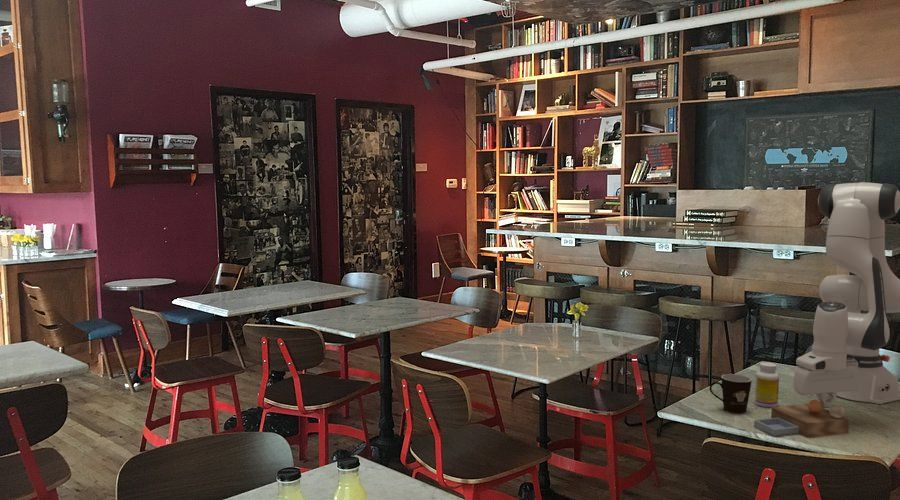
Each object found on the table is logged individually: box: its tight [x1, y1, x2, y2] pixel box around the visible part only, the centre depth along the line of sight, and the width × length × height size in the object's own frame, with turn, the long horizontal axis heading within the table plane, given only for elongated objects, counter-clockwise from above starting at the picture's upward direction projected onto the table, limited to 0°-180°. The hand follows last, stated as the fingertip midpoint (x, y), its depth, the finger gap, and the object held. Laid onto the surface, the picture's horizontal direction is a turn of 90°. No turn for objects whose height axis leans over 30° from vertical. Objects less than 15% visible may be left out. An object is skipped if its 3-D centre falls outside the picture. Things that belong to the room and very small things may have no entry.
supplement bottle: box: [754, 361, 780, 408], centre depth 227 cm, size 7×7×13 cm
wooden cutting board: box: [770, 403, 850, 439], centre depth 207 cm, size 14×14×4 cm
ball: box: [807, 399, 822, 413], centre depth 208 cm, size 4×4×4 cm
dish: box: [753, 417, 800, 438], centre depth 204 cm, size 8×8×2 cm
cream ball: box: [828, 404, 845, 418], centre depth 203 cm, size 4×4×4 cm
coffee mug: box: [709, 373, 753, 415], centre depth 222 cm, size 12×9×10 cm
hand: (825, 407), depth 208 cm, fingers closed
